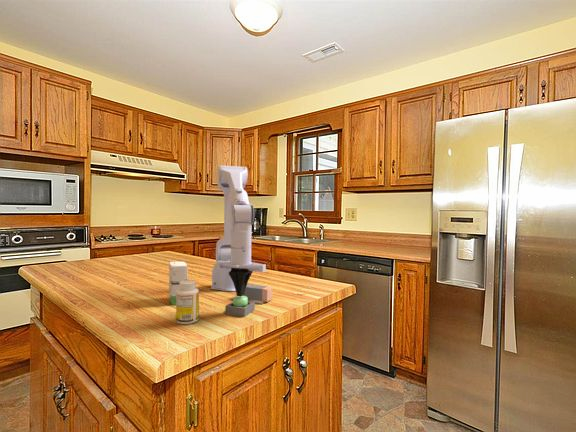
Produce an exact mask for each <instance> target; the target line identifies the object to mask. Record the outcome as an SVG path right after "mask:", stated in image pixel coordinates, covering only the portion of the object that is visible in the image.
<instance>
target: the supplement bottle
mask: <svg viewBox="0 0 576 432" xmlns="http://www.w3.org/2000/svg"><path fill="white" fill-rule="evenodd" d="M196 283H197V282H196V280H193V279H188V280H184V281H181V282H180V284H179V288H180V289H178V290H177V291H176V305H175V310H176V311H175V314H176V315H175V321H176V322H177V323H178V324H180V325H191V324H195V323H196V322H198V320H199V318H200V314H199V313H200V305H199V304H200V303H199V302H200V299H199V297H200V290H199V288H197V287H196V285H197V284H196Z"/></svg>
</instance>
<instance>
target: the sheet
mask: <svg viewBox="0 0 576 432" xmlns="http://www.w3.org/2000/svg"><path fill="white" fill-rule="evenodd" d="M248 302H255V305H256V304H257V305H263V304H265V303H266V302H264V301H257V300H249V299H248Z"/></svg>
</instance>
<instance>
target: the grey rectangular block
mask: <svg viewBox="0 0 576 432" xmlns="http://www.w3.org/2000/svg"><path fill="white" fill-rule="evenodd" d="M243 296H246V297H248V299H249V300H257V301H264V302H265V303H268V302H269V301H271V300H272V299H273V286H267V285H260V284H253V283H251V284H250V283H247V286H246V289H245V294H244V295H243Z"/></svg>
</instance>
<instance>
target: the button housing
mask: <svg viewBox="0 0 576 432" xmlns="http://www.w3.org/2000/svg"><path fill="white" fill-rule="evenodd" d="M255 306H256V304H255V302H248V305H247V306H245V307H244V308H243V307H236V306H233V301H231V302H230V303H228V304H226V305H225V306H224V307H225V315H232V316H238V317H243V318H244V317H245V318H246V316H248V315H249V314H251V313H252V312H254V311H255V310H256V309H255V308H256V307H255Z"/></svg>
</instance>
